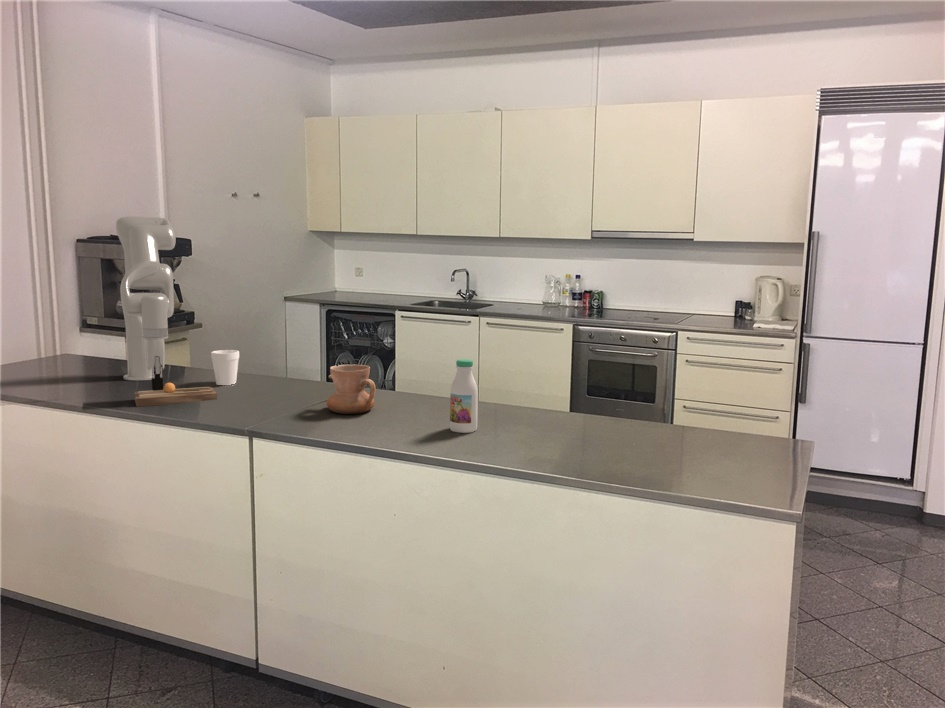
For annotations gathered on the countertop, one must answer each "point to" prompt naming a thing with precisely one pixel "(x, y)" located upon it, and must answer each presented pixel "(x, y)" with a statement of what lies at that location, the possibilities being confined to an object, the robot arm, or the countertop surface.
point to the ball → (169, 388)
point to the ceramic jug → (351, 389)
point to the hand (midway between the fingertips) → (157, 389)
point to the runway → (174, 396)
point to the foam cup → (225, 366)
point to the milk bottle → (464, 399)
